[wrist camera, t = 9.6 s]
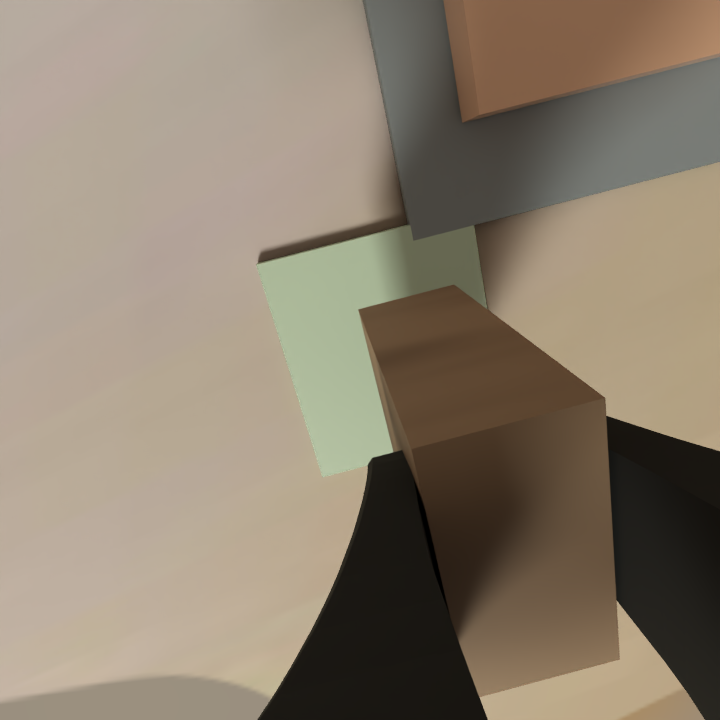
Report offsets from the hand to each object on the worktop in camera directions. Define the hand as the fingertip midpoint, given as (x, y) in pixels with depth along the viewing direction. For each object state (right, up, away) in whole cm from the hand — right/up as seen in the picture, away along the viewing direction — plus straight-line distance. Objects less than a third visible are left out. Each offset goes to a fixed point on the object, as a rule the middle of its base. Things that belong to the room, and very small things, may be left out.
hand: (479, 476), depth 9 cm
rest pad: (-1, +3, +8) cm, 8 cm away
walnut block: (0, +2, +4) cm, 5 cm away
